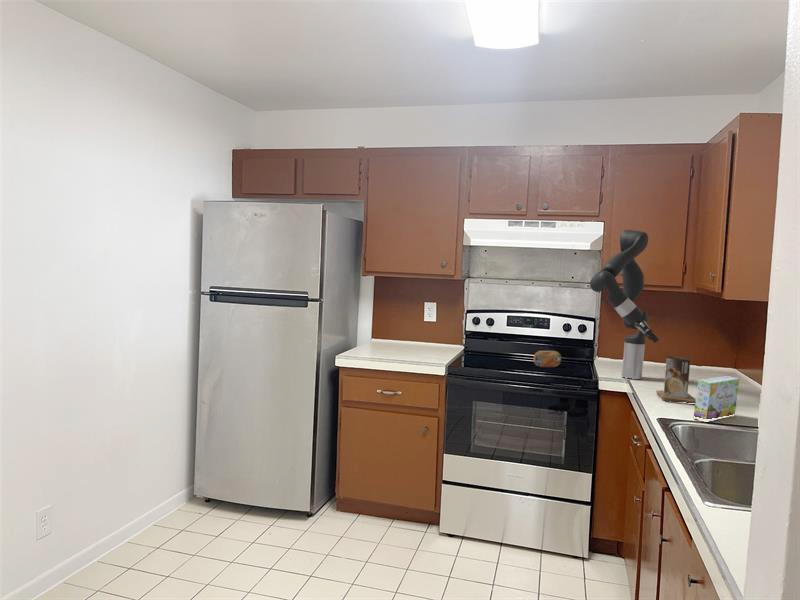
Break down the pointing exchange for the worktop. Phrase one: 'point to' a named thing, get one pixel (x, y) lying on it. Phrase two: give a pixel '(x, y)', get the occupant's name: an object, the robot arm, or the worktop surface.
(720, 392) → the snack box
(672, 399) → the board
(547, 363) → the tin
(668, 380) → the coffee box
